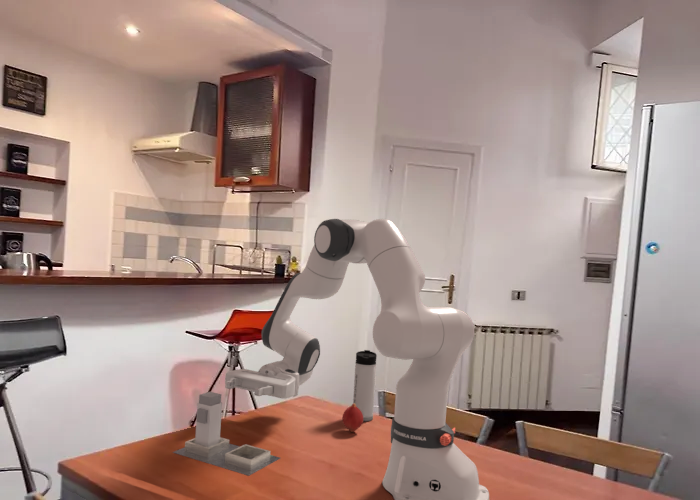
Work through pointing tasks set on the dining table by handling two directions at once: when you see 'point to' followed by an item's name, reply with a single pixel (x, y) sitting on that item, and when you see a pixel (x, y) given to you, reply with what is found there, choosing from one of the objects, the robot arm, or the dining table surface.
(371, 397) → the travel mug
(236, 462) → the panel
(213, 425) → the plug
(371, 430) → the dining table surface
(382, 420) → the dining table surface
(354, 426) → the onion
